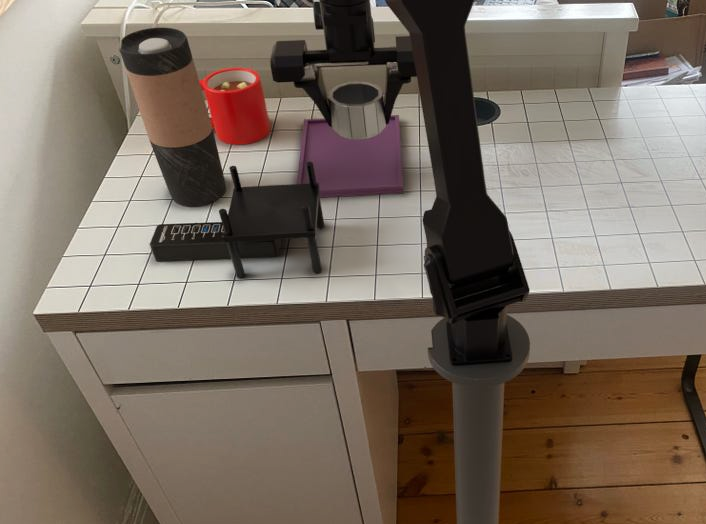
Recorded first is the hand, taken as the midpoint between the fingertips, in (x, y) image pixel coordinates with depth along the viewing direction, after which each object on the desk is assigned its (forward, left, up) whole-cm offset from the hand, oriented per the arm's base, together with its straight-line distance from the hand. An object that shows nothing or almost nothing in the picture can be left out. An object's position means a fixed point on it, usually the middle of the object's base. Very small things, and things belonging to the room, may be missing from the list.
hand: (359, 124), depth 97 cm
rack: (-15, +10, -8) cm, 20 cm away
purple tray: (+5, +2, -8) cm, 10 cm away
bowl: (0, 0, -1) cm, 0 cm away
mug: (+15, +20, -8) cm, 26 cm away
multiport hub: (-14, +18, -8) cm, 24 cm away
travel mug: (-1, +22, -8) cm, 23 cm away
